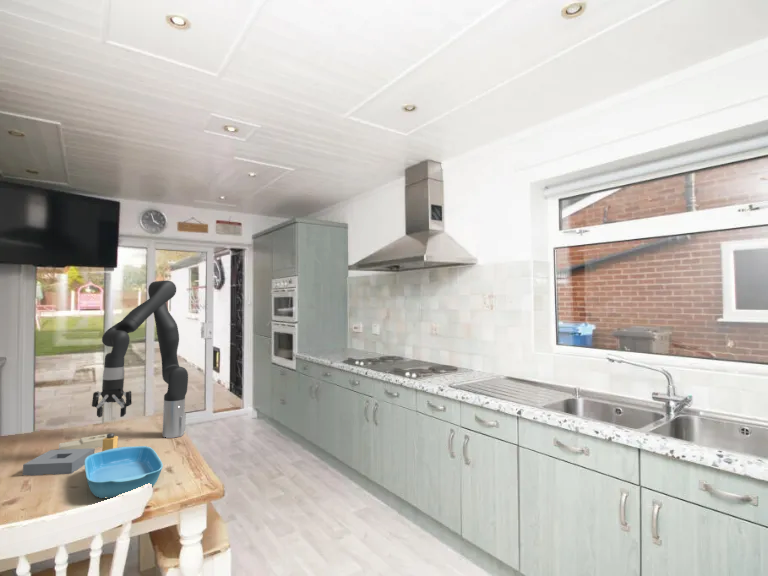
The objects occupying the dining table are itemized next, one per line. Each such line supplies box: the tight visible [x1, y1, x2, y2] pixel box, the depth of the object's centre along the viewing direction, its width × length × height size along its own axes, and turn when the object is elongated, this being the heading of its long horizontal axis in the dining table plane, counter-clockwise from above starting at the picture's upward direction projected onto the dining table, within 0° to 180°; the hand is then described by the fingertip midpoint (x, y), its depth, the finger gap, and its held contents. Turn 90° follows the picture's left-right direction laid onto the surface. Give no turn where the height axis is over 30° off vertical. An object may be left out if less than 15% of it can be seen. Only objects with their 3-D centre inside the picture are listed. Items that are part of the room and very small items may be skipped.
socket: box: [22, 448, 96, 476], centre depth 160 cm, size 16×16×4 cm
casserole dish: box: [84, 445, 164, 499], centre depth 148 cm, size 37×22×7 cm, turn 38°
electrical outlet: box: [58, 433, 108, 450], centre depth 182 cm, size 7×4×18 cm
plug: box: [101, 432, 119, 452], centre depth 174 cm, size 4×4×8 cm
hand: (111, 416), depth 174 cm, fingers open, 8 cm apart
